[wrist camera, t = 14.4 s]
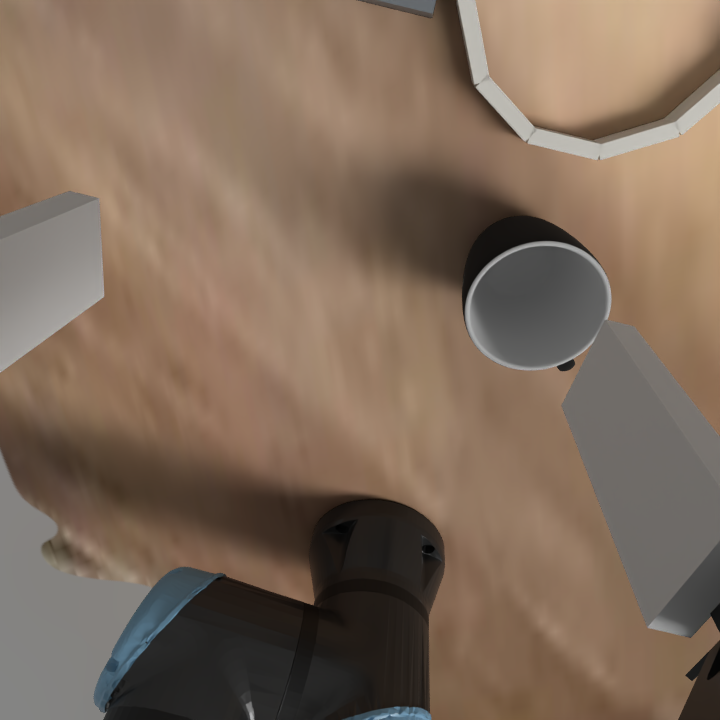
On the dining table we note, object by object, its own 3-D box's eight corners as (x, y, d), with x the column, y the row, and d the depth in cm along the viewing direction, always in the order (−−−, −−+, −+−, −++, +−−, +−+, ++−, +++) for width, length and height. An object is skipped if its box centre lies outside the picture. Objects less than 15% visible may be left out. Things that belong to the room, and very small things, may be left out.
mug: (436, 238, 41) (438, 286, 33) (544, 176, 38) (579, 211, 30) (502, 354, 46) (519, 423, 37) (604, 307, 43) (649, 371, 34)
